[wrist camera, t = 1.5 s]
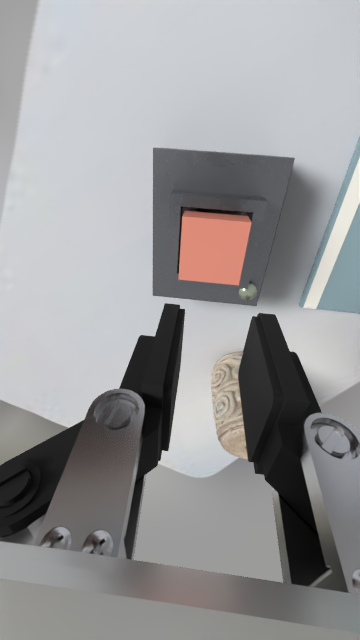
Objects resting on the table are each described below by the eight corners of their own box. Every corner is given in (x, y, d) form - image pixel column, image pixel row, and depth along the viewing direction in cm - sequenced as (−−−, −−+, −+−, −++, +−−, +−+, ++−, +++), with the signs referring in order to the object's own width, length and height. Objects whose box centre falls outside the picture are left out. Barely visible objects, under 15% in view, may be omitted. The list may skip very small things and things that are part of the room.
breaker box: (163, 148, 23) (147, 147, 17) (279, 156, 22) (303, 158, 16) (161, 274, 29) (148, 305, 24) (249, 283, 29) (259, 317, 23)
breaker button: (184, 210, 19) (182, 216, 17) (247, 215, 19) (251, 222, 17) (180, 269, 22) (178, 279, 20) (236, 274, 21) (238, 285, 20)
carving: (272, 373, 36) (295, 460, 26) (219, 385, 38) (223, 468, 28) (260, 339, 33) (282, 421, 23) (204, 353, 35) (202, 434, 25)
